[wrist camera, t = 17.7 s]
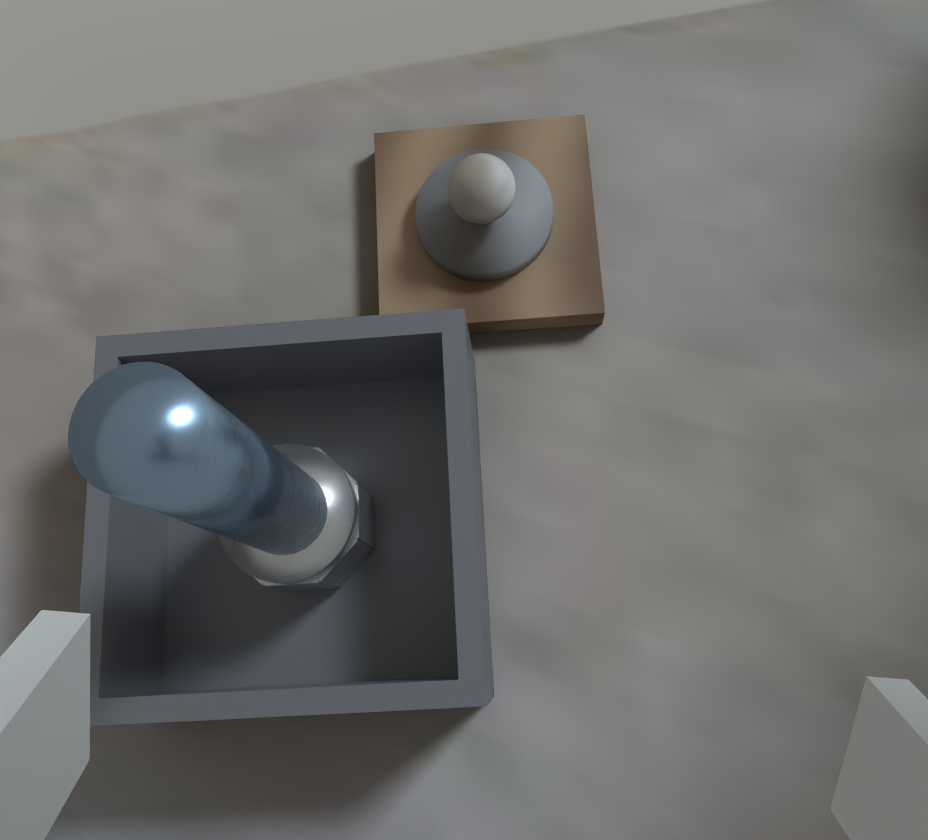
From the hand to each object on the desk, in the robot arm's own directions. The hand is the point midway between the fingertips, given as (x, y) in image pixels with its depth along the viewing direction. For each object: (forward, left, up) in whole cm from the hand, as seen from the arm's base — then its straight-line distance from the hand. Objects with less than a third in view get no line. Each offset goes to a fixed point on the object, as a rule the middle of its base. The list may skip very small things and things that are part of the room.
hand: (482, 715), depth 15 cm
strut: (+9, -7, -24) cm, 27 cm away
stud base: (0, -22, -25) cm, 34 cm away
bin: (+9, -7, -25) cm, 28 cm away
